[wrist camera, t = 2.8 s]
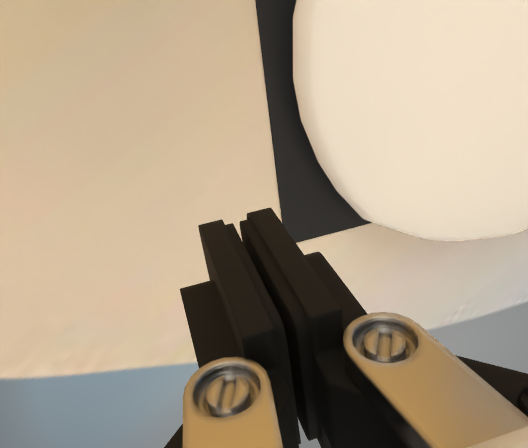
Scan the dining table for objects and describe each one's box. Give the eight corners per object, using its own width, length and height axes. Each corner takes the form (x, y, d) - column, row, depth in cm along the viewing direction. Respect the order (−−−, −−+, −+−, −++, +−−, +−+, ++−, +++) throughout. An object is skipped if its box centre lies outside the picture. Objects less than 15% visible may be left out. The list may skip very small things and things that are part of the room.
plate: (332, 302, 32) (260, -252, 19) (307, 250, 37) (237, -205, 24) (732, 201, 34) (923, -367, 21) (651, 165, 39) (759, -298, 26)
